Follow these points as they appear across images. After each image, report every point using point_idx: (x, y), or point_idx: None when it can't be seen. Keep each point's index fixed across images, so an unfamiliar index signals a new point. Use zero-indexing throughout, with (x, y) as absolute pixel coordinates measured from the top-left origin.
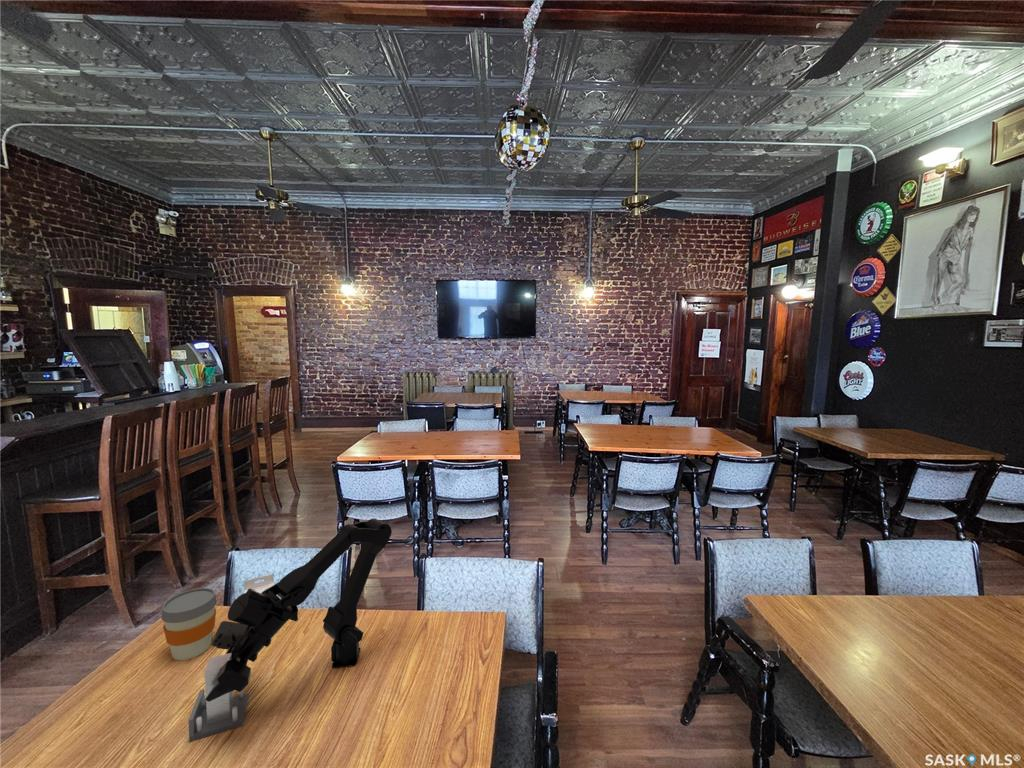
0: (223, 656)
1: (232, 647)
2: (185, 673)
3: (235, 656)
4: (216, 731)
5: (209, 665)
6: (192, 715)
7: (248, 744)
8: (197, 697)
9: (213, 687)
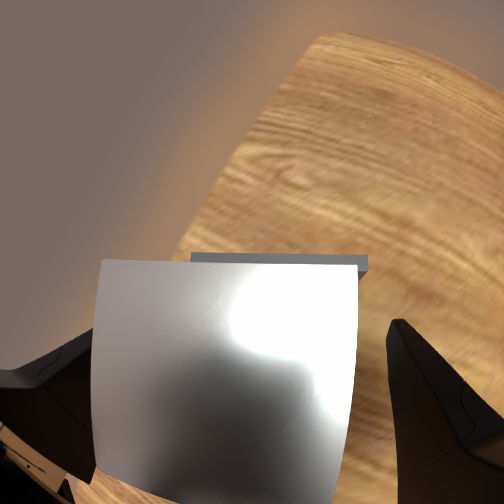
0: (294, 456)
1: (462, 471)
2: (496, 197)
3: (410, 457)
4: None
5: (172, 296)
6: (213, 260)
7: None
8: (321, 255)
9: (82, 345)
